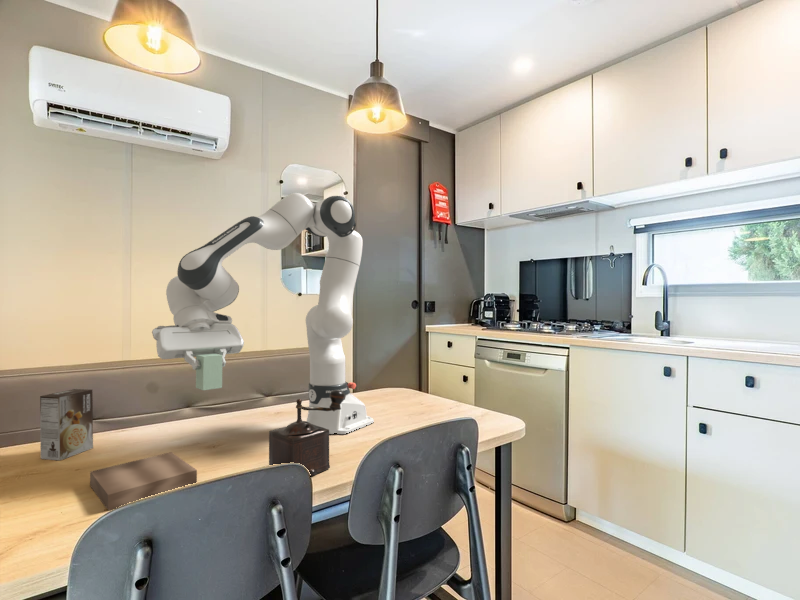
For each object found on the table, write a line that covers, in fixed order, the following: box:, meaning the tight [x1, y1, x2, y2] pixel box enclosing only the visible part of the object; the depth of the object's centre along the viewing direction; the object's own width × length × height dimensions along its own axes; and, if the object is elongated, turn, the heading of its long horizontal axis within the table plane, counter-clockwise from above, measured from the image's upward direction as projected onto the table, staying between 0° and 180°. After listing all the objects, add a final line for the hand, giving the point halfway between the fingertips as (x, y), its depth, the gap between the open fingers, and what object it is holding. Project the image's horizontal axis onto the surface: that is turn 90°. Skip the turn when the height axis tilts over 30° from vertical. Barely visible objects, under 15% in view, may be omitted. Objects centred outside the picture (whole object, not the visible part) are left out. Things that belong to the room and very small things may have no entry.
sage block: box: [195, 354, 223, 391], centre depth 101 cm, size 4×4×8 cm
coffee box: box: [39, 388, 94, 461], centre depth 108 cm, size 9×6×16 cm
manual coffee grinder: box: [268, 390, 346, 477], centre depth 99 cm, size 16×11×18 cm
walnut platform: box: [89, 451, 198, 512], centre depth 89 cm, size 16×16×3 cm
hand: (210, 366), depth 101 cm, fingers closed on sage block, 4 cm apart
